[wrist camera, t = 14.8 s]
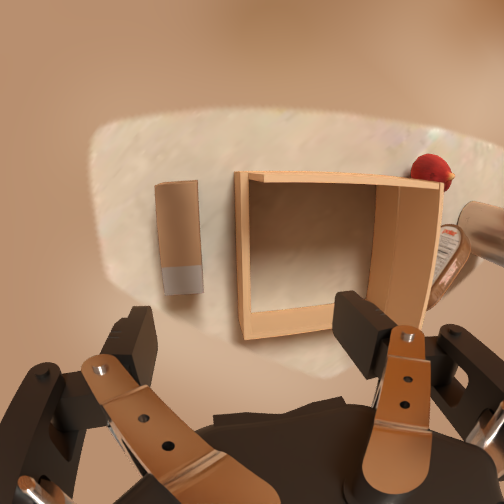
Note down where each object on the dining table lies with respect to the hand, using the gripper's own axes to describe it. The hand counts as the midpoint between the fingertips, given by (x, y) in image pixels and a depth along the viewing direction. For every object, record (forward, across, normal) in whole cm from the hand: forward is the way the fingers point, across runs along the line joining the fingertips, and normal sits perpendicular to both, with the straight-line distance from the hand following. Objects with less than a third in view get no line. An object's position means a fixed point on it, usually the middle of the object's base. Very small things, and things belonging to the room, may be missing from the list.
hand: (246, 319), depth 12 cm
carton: (+23, -12, +4) cm, 26 cm away
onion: (+24, -28, -6) cm, 37 cm away
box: (+23, +4, +1) cm, 23 cm away
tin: (+24, -30, +7) cm, 38 cm away
